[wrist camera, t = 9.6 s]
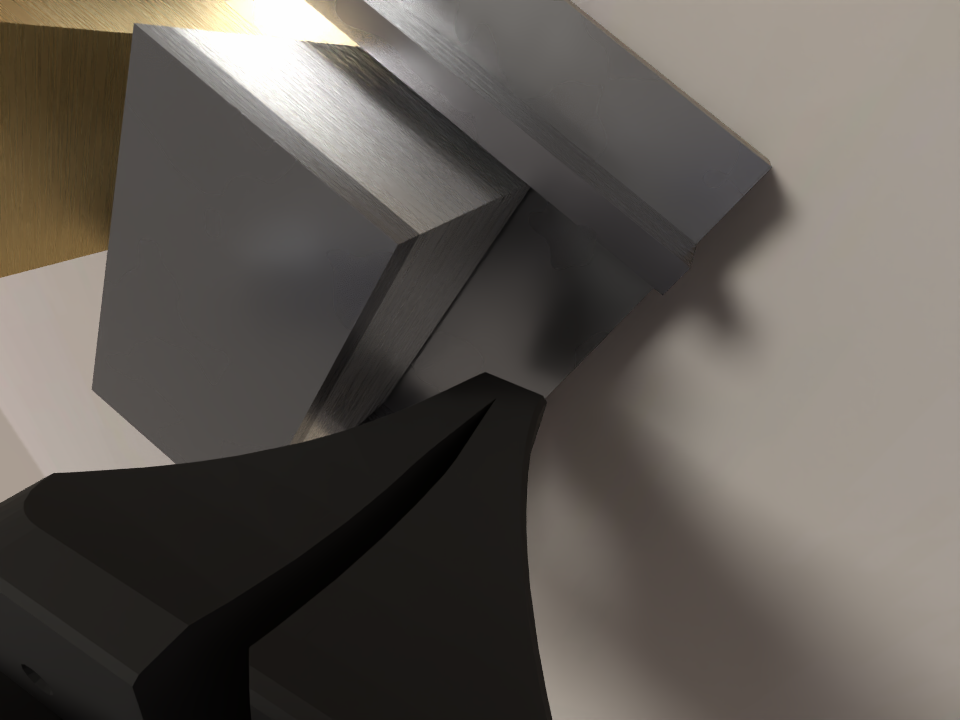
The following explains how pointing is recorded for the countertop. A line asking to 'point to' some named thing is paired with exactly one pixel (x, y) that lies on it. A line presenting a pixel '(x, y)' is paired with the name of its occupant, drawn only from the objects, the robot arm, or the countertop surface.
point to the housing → (72, 116)
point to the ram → (279, 239)
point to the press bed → (544, 172)
